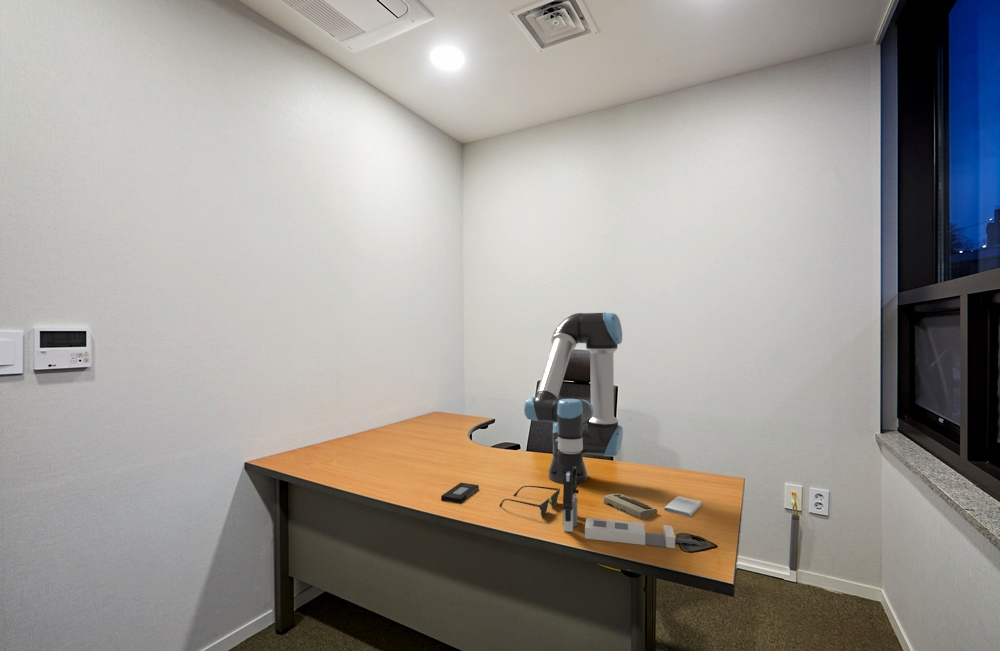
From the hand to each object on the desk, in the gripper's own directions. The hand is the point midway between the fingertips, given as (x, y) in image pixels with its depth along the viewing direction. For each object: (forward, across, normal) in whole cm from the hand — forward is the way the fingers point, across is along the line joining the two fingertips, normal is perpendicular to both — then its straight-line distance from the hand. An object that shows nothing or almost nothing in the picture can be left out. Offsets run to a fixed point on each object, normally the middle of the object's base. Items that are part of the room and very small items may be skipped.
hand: (570, 522), depth 139 cm
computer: (+1, -16, +18) cm, 24 cm away
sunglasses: (+1, -10, -15) cm, 18 cm away
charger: (0, 0, 0) cm, 0 cm away
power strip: (0, +5, +20) cm, 21 cm away
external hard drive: (+1, -21, +35) cm, 41 cm away
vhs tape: (+1, -14, -40) cm, 43 cm away
